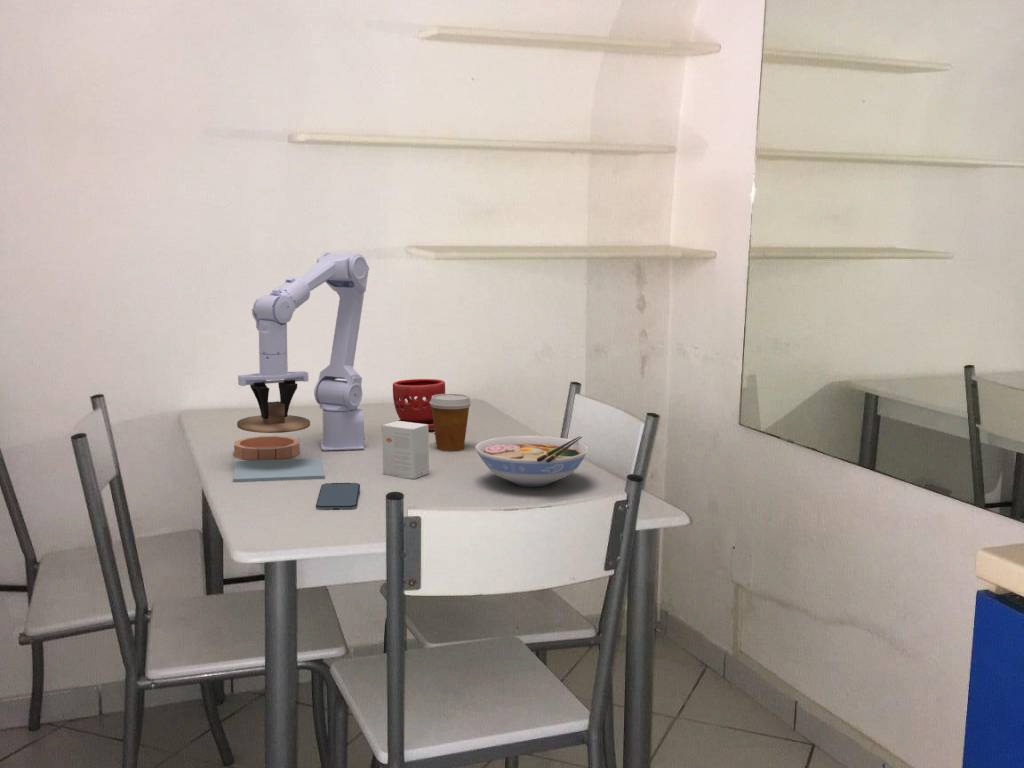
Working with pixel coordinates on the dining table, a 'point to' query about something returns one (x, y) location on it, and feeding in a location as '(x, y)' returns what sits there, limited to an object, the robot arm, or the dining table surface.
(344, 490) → the smartphone
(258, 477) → the mat
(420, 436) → the small box
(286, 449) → the dish
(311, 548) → the dining table surface
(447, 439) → the disposable coffee cup
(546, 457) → the ramen bowl
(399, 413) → the plant pot
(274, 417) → the lid
